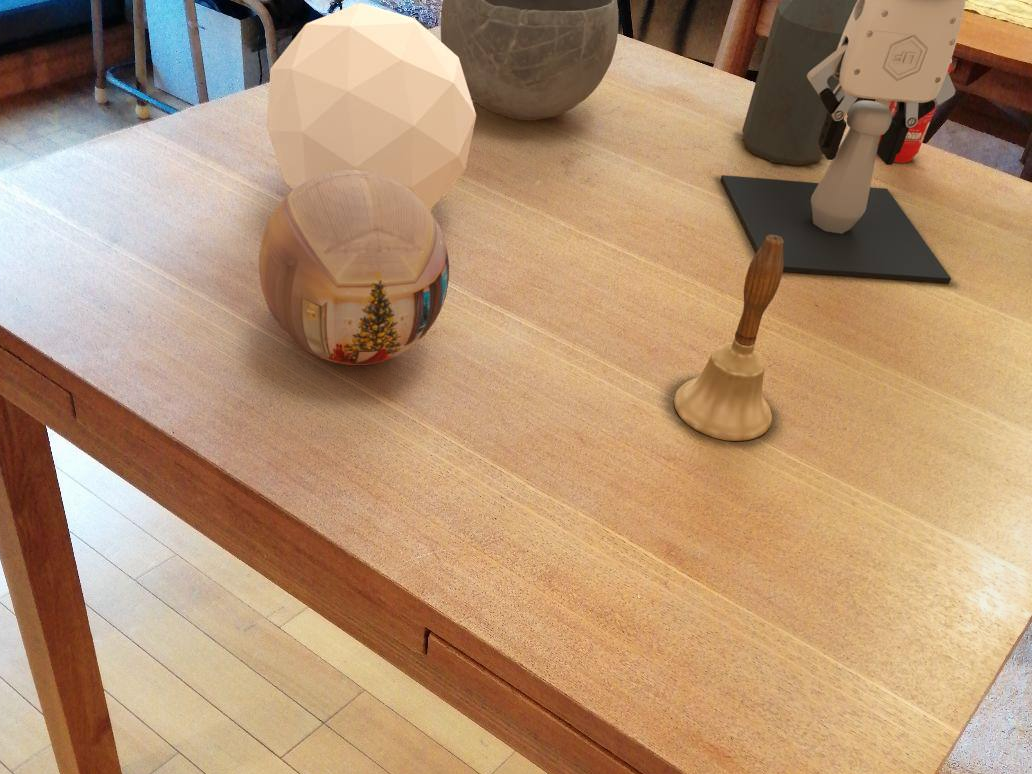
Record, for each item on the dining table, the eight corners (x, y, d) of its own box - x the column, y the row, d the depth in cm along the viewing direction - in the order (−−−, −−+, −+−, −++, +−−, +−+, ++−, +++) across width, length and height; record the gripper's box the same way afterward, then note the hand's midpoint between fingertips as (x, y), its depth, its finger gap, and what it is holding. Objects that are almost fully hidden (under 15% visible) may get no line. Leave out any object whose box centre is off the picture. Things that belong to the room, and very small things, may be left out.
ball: (404, 292, 112) (473, 204, 94) (218, 204, 106) (252, 91, 88) (459, 142, 117) (533, 31, 99) (284, 50, 112) (329, -86, 93)
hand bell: (726, 453, 87) (786, 278, 76) (653, 399, 92) (700, 226, 81) (791, 421, 92) (856, 250, 81) (718, 370, 96) (771, 202, 85)
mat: (885, 193, 127) (887, 188, 127) (949, 283, 113) (951, 278, 112) (720, 179, 124) (721, 174, 124) (764, 270, 110) (766, 265, 110)
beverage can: (873, 158, 134) (910, 59, 126) (872, 142, 138) (908, 44, 129) (915, 167, 134) (955, 68, 125) (913, 151, 137) (952, 53, 129)
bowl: (440, 66, 139) (451, -64, 129) (598, 87, 140) (622, -39, 130) (427, 132, 124) (438, -8, 114) (604, 156, 125) (631, 19, 115)
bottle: (784, 126, 138) (868, -146, 117) (839, 160, 132) (937, -120, 112) (723, 136, 133) (799, -145, 113) (777, 172, 128) (867, -118, 107)
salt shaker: (794, 212, 119) (834, 94, 110) (837, 209, 121) (880, 92, 112) (823, 239, 115) (867, 118, 106) (867, 235, 117) (914, 116, 108)
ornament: (395, 423, 85) (407, 250, 75) (226, 366, 88) (216, 191, 78) (467, 332, 96) (487, 169, 85) (315, 283, 98) (316, 120, 88)
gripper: (847, -28, 97) (785, 166, 109) (1026, -8, 99) (946, 180, 111) (822, -54, 102) (766, 134, 115) (993, -35, 104) (920, 147, 117)
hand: (855, 155), depth 113 cm, fingers open, 5 cm apart
